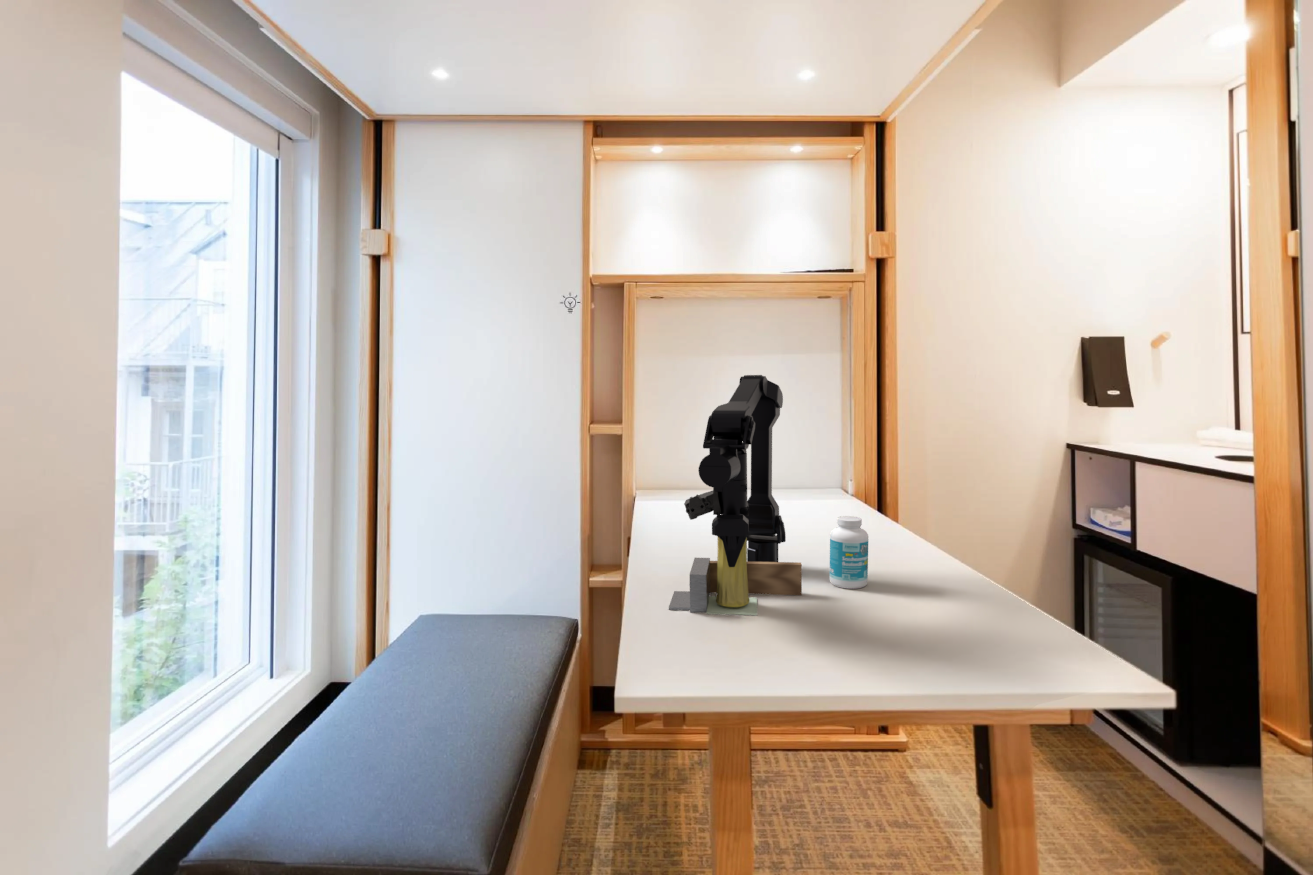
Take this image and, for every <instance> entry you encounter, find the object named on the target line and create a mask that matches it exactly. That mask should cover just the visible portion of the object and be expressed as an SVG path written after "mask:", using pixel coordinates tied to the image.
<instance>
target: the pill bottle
mask: <svg viewBox="0 0 1313 875" xmlns="http://www.w3.org/2000/svg"><path fill="white" fill-rule="evenodd" d="M862 522H863V521H862V518H860V517H858V516H854V515H852V516H851V515H841V516H838V517H837V519H836V524H837V527H834V528H833V529H832V530H831V531H830V534H829V571H828V572H829V573H828V574H829V582H830V583H831V584H832V585H833V586H835V587H838V588H841V589H852V590H853V589H854V590H855V589H862V588H864V587H866V585H868V580H869V578H868V573H869V534H868V532H867V531H866V530H865V529H863V528H862V527H861V526H862V525H863V524H862Z"/></svg>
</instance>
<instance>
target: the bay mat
mask: <svg viewBox="0 0 1313 875" xmlns="http://www.w3.org/2000/svg"><path fill="white" fill-rule="evenodd" d="M716 597H717V595H716V596H715V595H710V597H709V602H708V608H707V612H706V613H705V614H706V615H724V616H725V615H728V616H729V615H731V616H732V615H734V616H758V597H757V596H756V597H755V596H753V597H751V596H749V603H748V604H747V605H745V606H742V607H724V606H721V605H719V604H718V603H717V602H716Z"/></svg>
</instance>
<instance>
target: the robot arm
mask: <svg viewBox="0 0 1313 875" xmlns="http://www.w3.org/2000/svg"><path fill="white" fill-rule="evenodd" d="M783 396H784V395H783V391H782V390H781V387H780V385H778V384H776V383H774V382H772V381H770V380H768V379H767V377H766V375H762V374H747V375H746V374H745V375H743V376H740V377H739V383H738V386H737V388H736V389H735V390H734V393H733V394H732V395H731V398H730V399H729V400H728V402H727V403H723V404H720V405H718V406H717V407H716V408H715V409H714V410H713V411H712V412H711V415H709V416H708V419H707V423H706V424H707V425H706V428H705V435H704V438H703V444H702V448H703V449H706V450H707V449H708V450H709V452H708V453H709V454H708V455H706V456H704V457H703V458H702V459H701V461H700V463H699V466H698V476H699V478H700V480H701V481H702V483H704V484H705V485H706V486H708V487H711V488H713V489H712V490H710V491H707V492H703V493H701V494H696V495H694V496H690V497H689V498H687V499H686V500H685V501H684V503H683V505H684V507H685V512H686V514H687V516H688V518H689V520H695V519H697V518H698V517H700V516H704V515H706V514H709V513H711V512H713V514H712V515H715V517H714V518H713V519H712V523H711V535H712V536H716V537H717V538H718V537H719V538H720V539H721V540H722V541H723V545H724V549H725V553H726V557H727V562H728V566H729V567H735V565H736V562H737V560H738V557H739V555H740V552H741V550H742V547H743V545H744V542H745V540H746V538H747V562H779V545H780V544H781V543H785V542H786V538H787V537H786V536H787V535H786V528H785V523H784V521H783V517H782V515H780V506H779V504H778V502H777V501H776V500H775V498H774V495H773V492H772V491H773V490H772V489H773V427H774V426H775V424H776V422H777V420H778V419H779V417H780V415H781V409H782V407H783V404H784V403H783V402H784V399H783V398H784V397H783ZM749 447H750V496H749V498H748V452H747V449H749Z"/></svg>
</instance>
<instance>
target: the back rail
mask: <svg viewBox="0 0 1313 875" xmlns="http://www.w3.org/2000/svg"><path fill="white" fill-rule="evenodd" d="M802 567H803V565H802V562H796V561H795V562H793V561H792V562H789V561H787V562H786V561H778V562H747V577H748V594H750V595H775V596H776V595H777V596H778V595H779V596H780V595H782V596H802V595H803V592H802V590H803V589H802V586H803V584H802V581H803V578H802V573H803V572H802V570H803V569H802ZM710 594H717V560H710Z"/></svg>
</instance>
